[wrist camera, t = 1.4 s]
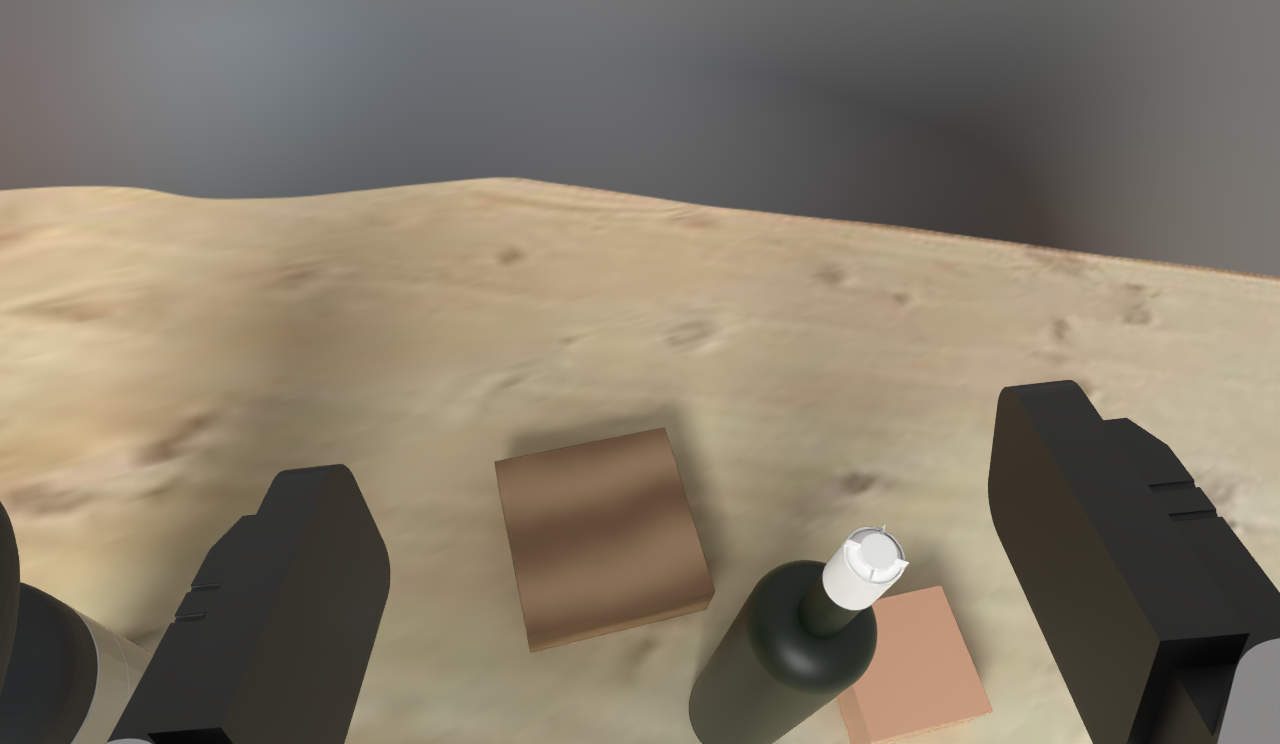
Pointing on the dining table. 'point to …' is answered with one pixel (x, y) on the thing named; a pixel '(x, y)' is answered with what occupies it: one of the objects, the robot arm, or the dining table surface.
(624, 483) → the walnut block
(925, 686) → the terracotta block
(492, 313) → the dining table surface
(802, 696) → the wine bottle
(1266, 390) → the dining table surface
